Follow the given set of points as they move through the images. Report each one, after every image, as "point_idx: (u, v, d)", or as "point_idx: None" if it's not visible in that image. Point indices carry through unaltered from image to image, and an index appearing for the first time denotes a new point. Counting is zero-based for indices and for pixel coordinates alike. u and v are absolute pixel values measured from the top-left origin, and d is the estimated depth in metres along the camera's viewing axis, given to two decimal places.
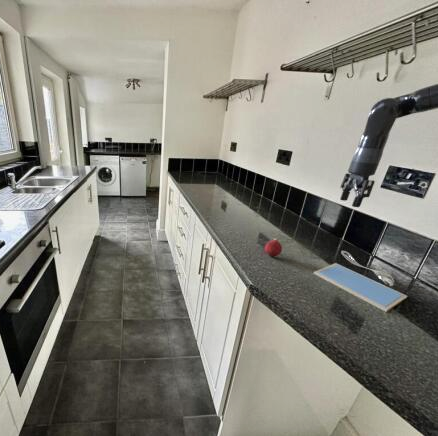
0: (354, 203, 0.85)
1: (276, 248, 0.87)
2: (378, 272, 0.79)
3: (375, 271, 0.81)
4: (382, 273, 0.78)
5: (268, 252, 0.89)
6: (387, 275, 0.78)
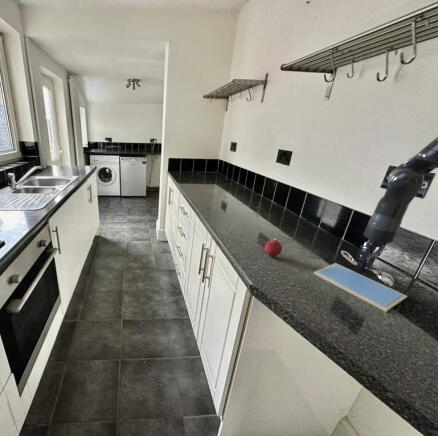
0: (357, 265, 0.84)
1: (276, 248, 0.87)
2: (378, 272, 0.79)
3: (375, 271, 0.81)
4: (382, 273, 0.78)
5: (268, 252, 0.89)
6: (387, 275, 0.78)
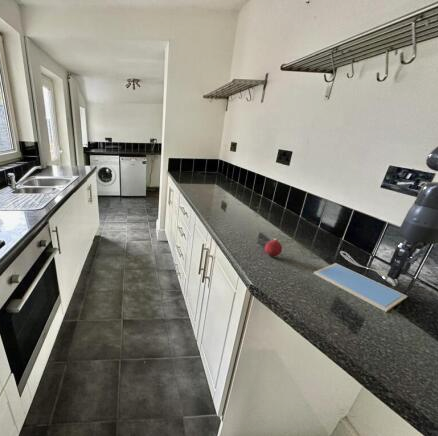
0: (389, 272, 0.67)
1: (276, 248, 0.87)
2: (381, 272, 0.79)
3: (378, 271, 0.81)
4: (386, 273, 0.78)
5: (268, 252, 0.89)
6: None
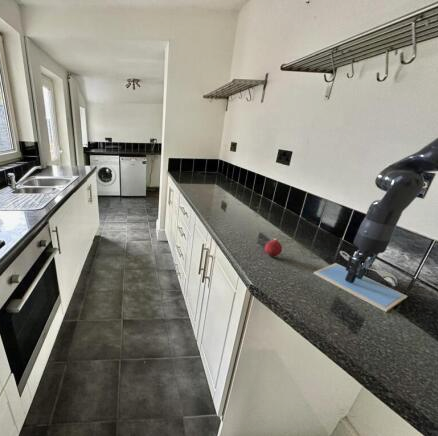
0: (346, 277, 0.76)
1: (276, 248, 0.87)
2: (381, 272, 0.79)
3: (378, 271, 0.81)
4: (385, 273, 0.78)
5: (268, 252, 0.89)
6: (391, 275, 0.78)
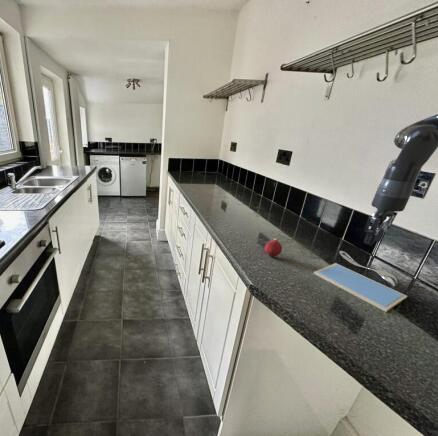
0: (365, 239, 0.77)
1: (276, 248, 0.87)
2: (381, 272, 0.79)
3: (378, 271, 0.81)
4: (385, 273, 0.78)
5: (268, 252, 0.89)
6: (390, 275, 0.78)
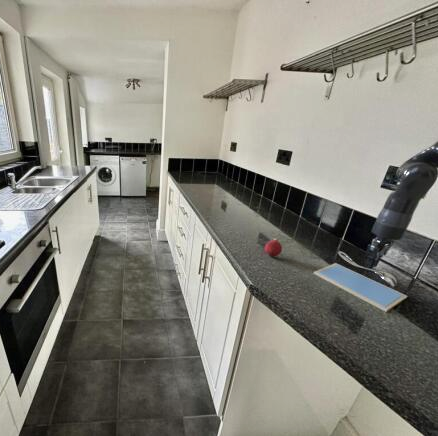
0: (365, 263, 0.82)
1: (276, 248, 0.87)
2: (380, 273, 0.79)
3: (377, 272, 0.80)
4: (385, 274, 0.78)
5: (268, 252, 0.89)
6: (390, 275, 0.78)
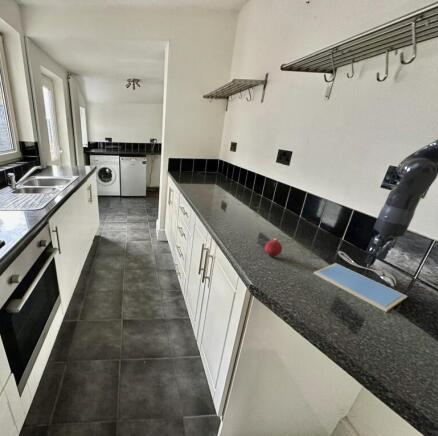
0: (366, 259, 0.80)
1: (276, 248, 0.87)
2: (380, 273, 0.79)
3: (376, 271, 0.80)
4: (384, 273, 0.78)
5: (268, 252, 0.89)
6: (389, 275, 0.78)
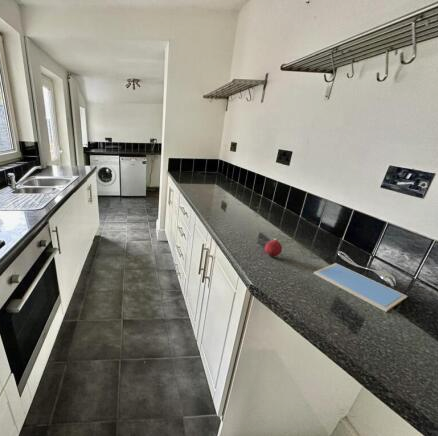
0: None
1: (276, 248, 0.87)
2: (380, 273, 0.79)
3: (376, 271, 0.80)
4: (384, 273, 0.78)
5: (268, 252, 0.89)
6: (389, 275, 0.78)
